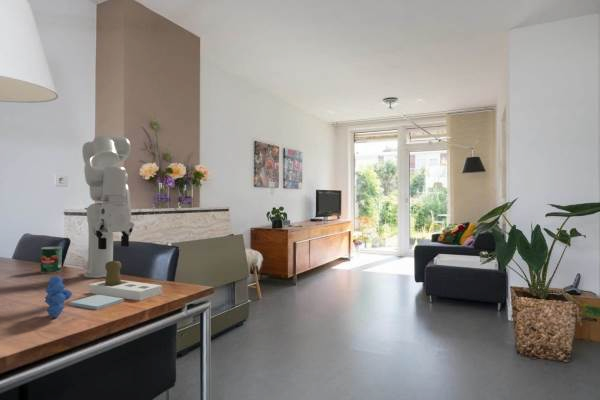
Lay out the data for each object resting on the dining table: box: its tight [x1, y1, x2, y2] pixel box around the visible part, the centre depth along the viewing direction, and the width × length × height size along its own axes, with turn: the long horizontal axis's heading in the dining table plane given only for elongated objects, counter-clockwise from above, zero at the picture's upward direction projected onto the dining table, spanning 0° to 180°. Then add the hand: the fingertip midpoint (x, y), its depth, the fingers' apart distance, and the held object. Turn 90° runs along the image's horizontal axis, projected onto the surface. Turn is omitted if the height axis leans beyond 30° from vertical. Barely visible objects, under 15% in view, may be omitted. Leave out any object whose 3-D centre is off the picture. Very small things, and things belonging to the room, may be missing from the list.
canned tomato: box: [40, 245, 63, 274], centre depth 166 cm, size 8×8×11 cm
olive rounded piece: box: [104, 260, 122, 286], centre depth 133 cm, size 6×6×11 cm
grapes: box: [44, 275, 73, 319], centre depth 104 cm, size 12×7×12 cm, turn 45°
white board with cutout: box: [88, 279, 163, 301], centre depth 130 cm, size 24×10×3 cm, turn 68°
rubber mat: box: [69, 294, 125, 311], centre depth 118 cm, size 12×10×1 cm
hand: (113, 247), depth 132 cm, fingers open, 9 cm apart
